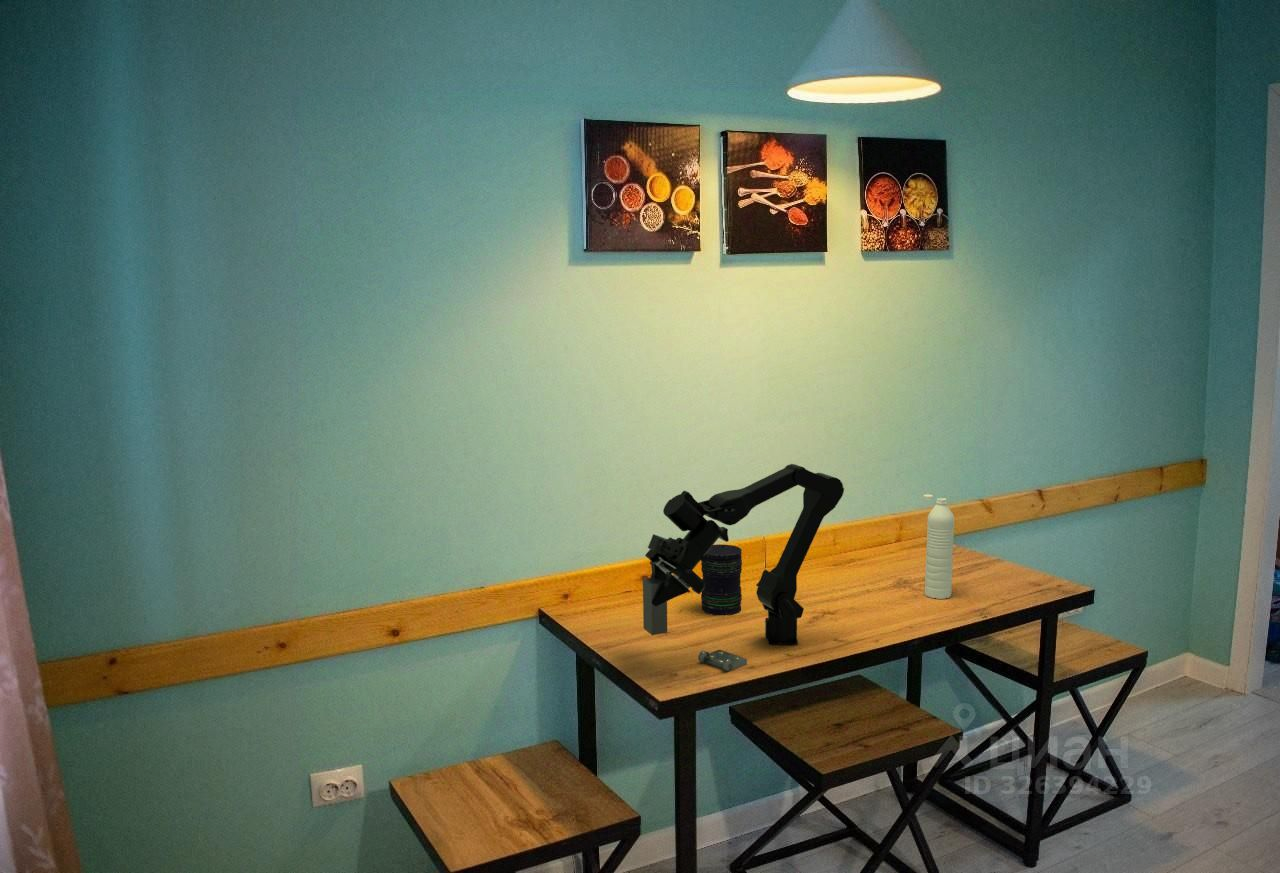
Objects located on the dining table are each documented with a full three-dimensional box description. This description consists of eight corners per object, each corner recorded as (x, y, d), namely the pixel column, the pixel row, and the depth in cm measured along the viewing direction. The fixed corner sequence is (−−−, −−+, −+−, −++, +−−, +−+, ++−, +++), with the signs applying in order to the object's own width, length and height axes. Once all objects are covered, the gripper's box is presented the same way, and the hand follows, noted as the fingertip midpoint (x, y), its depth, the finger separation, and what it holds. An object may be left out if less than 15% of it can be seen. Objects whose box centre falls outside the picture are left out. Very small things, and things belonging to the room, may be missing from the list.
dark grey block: (658, 626, 230) (657, 576, 228) (667, 632, 226) (666, 582, 224) (643, 628, 228) (642, 578, 226) (652, 635, 224) (651, 584, 222)
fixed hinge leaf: (719, 654, 232) (719, 644, 231) (746, 664, 226) (746, 653, 226) (698, 663, 227) (698, 652, 227) (725, 672, 222) (725, 661, 221)
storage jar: (739, 617, 256) (739, 556, 253) (698, 614, 258) (698, 554, 255) (743, 604, 265) (744, 545, 263) (704, 601, 267) (704, 543, 265)
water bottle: (956, 596, 270) (960, 498, 266) (939, 601, 266) (943, 502, 262) (929, 587, 277) (933, 492, 273) (912, 592, 273) (915, 496, 269)
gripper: (653, 511, 233) (606, 567, 231) (690, 531, 216) (641, 591, 214) (686, 542, 237) (641, 597, 235) (725, 564, 220) (677, 623, 218)
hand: (649, 601), depth 225 cm, fingers closed on dark grey block, 4 cm apart
